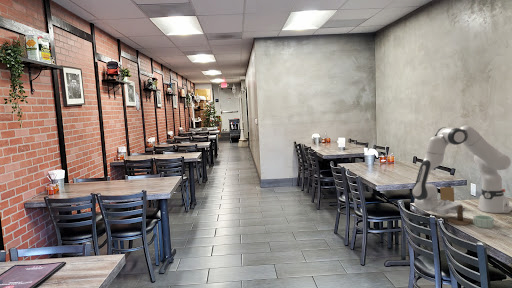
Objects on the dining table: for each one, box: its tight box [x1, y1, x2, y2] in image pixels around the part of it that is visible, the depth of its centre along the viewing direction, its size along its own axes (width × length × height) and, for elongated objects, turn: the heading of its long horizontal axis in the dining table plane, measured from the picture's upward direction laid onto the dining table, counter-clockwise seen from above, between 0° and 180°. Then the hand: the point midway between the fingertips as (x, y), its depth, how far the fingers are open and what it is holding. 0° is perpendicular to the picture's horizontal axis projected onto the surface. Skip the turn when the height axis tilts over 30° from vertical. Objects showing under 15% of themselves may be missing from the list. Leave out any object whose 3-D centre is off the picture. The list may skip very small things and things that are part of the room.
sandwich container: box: [439, 186, 455, 202], centre depth 254 cm, size 9×15×15 cm, turn 150°
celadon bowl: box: [473, 214, 495, 229], centre depth 208 cm, size 10×10×4 cm
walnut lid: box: [447, 204, 474, 226], centre depth 217 cm, size 13×13×10 cm
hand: (461, 210), depth 216 cm, fingers open, 8 cm apart
